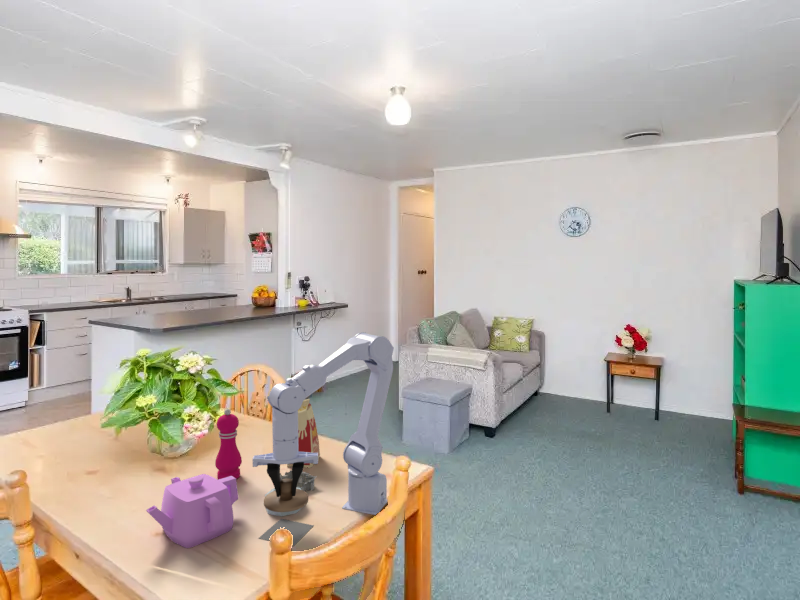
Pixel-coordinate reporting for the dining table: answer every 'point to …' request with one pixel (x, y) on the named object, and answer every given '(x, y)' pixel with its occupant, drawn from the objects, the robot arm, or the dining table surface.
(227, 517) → the teakettle
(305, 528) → the mat
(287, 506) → the lid
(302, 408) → the milk carton
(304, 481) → the egg carton
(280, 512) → the bowl
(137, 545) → the dining table surface
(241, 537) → the dining table surface
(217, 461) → the pepper mill
